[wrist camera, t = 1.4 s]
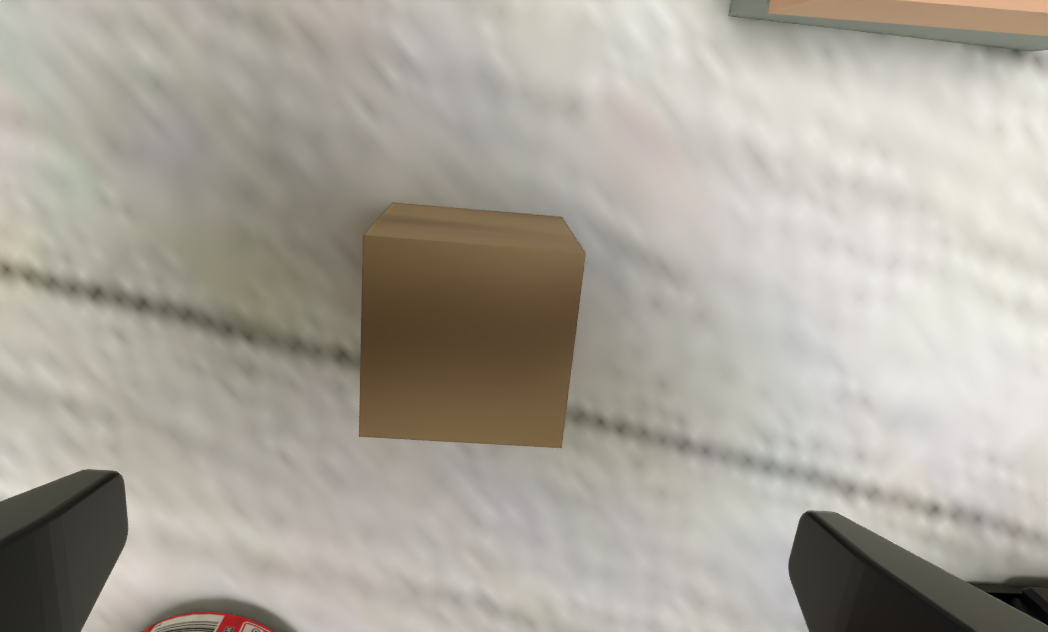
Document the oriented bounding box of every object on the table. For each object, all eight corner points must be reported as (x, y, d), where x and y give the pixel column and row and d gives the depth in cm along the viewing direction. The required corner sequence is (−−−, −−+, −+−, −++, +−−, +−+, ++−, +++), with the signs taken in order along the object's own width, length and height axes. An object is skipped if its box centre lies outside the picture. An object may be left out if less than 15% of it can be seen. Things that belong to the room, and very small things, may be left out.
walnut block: (544, 370, 21) (561, 448, 17) (387, 360, 21) (358, 436, 16) (561, 216, 20) (585, 252, 15) (393, 202, 20) (363, 234, 15)
